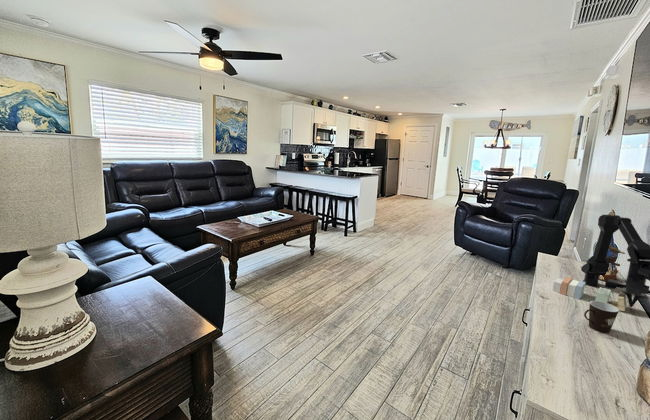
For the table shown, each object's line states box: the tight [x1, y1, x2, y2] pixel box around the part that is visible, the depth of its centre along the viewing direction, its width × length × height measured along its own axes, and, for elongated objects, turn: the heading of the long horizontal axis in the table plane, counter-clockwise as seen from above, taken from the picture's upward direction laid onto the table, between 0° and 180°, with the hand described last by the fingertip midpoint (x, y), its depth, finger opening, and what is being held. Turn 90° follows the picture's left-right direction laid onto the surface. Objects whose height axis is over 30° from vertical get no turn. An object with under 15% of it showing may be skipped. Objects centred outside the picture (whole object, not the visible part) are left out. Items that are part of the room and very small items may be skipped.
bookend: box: [611, 291, 627, 312], centre depth 137 cm, size 8×4×6 cm, turn 131°
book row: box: [552, 276, 586, 300], centre depth 151 cm, size 9×11×6 cm
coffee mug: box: [583, 300, 620, 334], centre depth 120 cm, size 12×9×10 cm
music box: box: [602, 244, 626, 282], centre depth 168 cm, size 15×11×20 cm
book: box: [594, 286, 612, 304], centre depth 141 cm, size 9×4×6 cm, turn 130°
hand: (630, 307), depth 134 cm, fingers closed
